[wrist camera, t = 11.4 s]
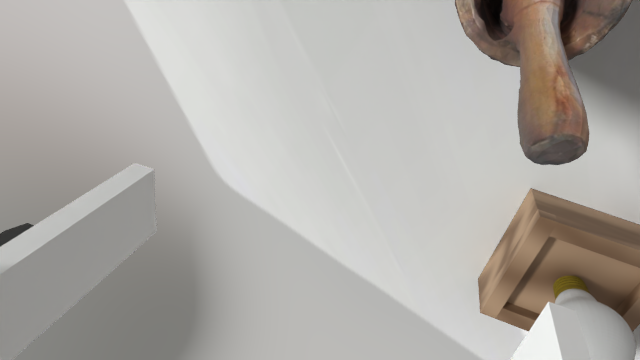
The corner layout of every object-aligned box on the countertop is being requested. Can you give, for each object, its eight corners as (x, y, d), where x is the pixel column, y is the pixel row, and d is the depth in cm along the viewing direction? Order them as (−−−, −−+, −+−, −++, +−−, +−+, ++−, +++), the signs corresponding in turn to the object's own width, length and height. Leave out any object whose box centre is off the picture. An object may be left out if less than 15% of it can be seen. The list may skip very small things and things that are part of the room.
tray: (530, 188, 39) (540, 216, 35) (663, 232, 38) (690, 268, 33) (478, 279, 45) (480, 312, 41) (590, 321, 44) (605, 361, 39)
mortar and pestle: (602, 41, 33) (759, 120, 16) (489, 86, 36) (517, 190, 19) (558, -112, 29) (695, -223, 12) (440, -45, 33) (421, -59, 16)
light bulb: (584, 244, 36) (624, 328, 28) (617, 293, 37) (665, 389, 29) (519, 270, 39) (536, 353, 30) (551, 314, 40) (577, 407, 31)
